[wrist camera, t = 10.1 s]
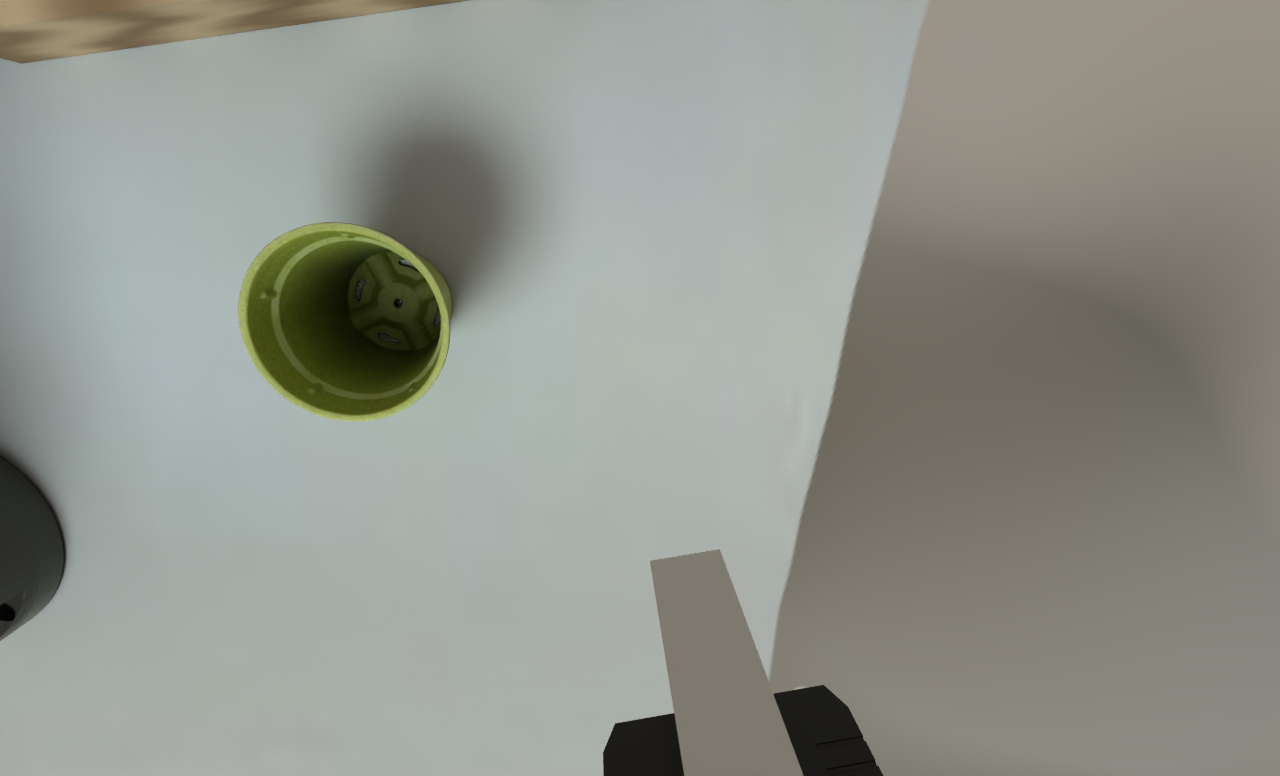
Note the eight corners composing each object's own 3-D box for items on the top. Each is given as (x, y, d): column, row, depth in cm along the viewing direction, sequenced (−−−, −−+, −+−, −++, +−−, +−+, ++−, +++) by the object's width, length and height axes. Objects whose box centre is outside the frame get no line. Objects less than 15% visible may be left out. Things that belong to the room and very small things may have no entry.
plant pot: (337, 195, 35) (257, 191, 27) (499, 250, 36) (471, 262, 28) (305, 348, 37) (222, 388, 29) (458, 394, 39) (421, 445, 30)
